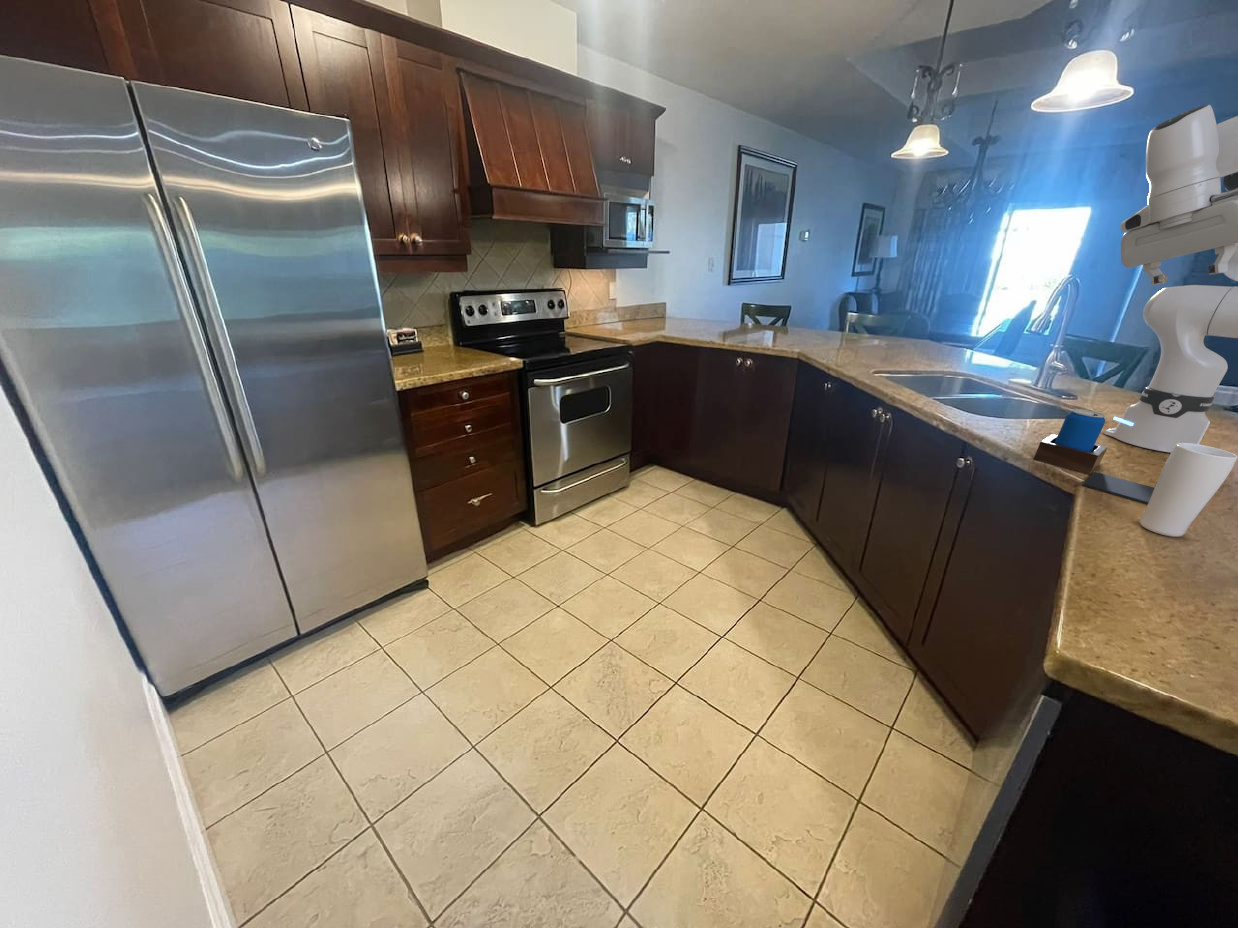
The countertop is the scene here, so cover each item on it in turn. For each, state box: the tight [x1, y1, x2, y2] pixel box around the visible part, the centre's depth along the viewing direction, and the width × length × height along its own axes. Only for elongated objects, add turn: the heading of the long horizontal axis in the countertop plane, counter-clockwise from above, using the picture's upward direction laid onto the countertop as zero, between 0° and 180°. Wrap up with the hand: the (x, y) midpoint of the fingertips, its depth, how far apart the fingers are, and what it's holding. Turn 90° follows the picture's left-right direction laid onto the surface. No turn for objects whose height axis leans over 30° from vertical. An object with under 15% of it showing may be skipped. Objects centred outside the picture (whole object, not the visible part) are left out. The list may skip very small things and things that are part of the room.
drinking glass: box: [1139, 443, 1238, 538], centre depth 79 cm, size 7×7×15 cm
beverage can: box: [1054, 408, 1106, 452], centre depth 107 cm, size 6×6×12 cm
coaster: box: [1081, 471, 1155, 505], centre depth 97 cm, size 11×11×1 cm
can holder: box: [1032, 433, 1108, 475], centre depth 109 cm, size 10×10×4 cm
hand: (1187, 279), depth 92 cm, fingers open, 8 cm apart
